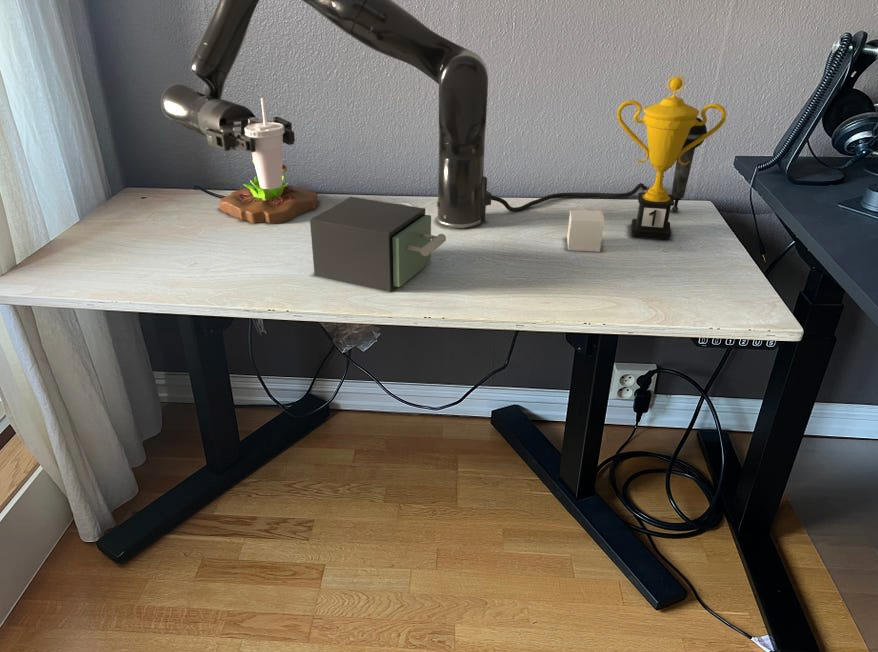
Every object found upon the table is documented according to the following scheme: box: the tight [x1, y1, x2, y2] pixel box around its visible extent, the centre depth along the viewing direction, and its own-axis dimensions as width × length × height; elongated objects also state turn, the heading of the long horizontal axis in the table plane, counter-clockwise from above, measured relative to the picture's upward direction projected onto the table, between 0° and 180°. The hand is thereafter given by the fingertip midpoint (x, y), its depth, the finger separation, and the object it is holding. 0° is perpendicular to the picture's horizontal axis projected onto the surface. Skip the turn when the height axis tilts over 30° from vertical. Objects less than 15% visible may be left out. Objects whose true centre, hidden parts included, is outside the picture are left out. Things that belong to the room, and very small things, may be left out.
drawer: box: [391, 214, 447, 288], centre depth 126 cm, size 19×12×9 cm, turn 62°
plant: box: [218, 159, 319, 224], centre depth 159 cm, size 20×20×11 cm
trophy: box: [616, 75, 727, 241], centre depth 137 cm, size 19×10×30 cm, turn 74°
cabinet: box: [309, 196, 426, 292], centre depth 128 cm, size 16×14×11 cm
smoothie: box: [245, 97, 285, 189], centre depth 116 cm, size 6×6×14 cm
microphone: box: [670, 116, 708, 213], centre depth 150 cm, size 7×7×20 cm
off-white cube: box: [566, 209, 605, 253], centre depth 138 cm, size 6×6×6 cm
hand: (272, 141), depth 114 cm, fingers closed on smoothie, 6 cm apart
